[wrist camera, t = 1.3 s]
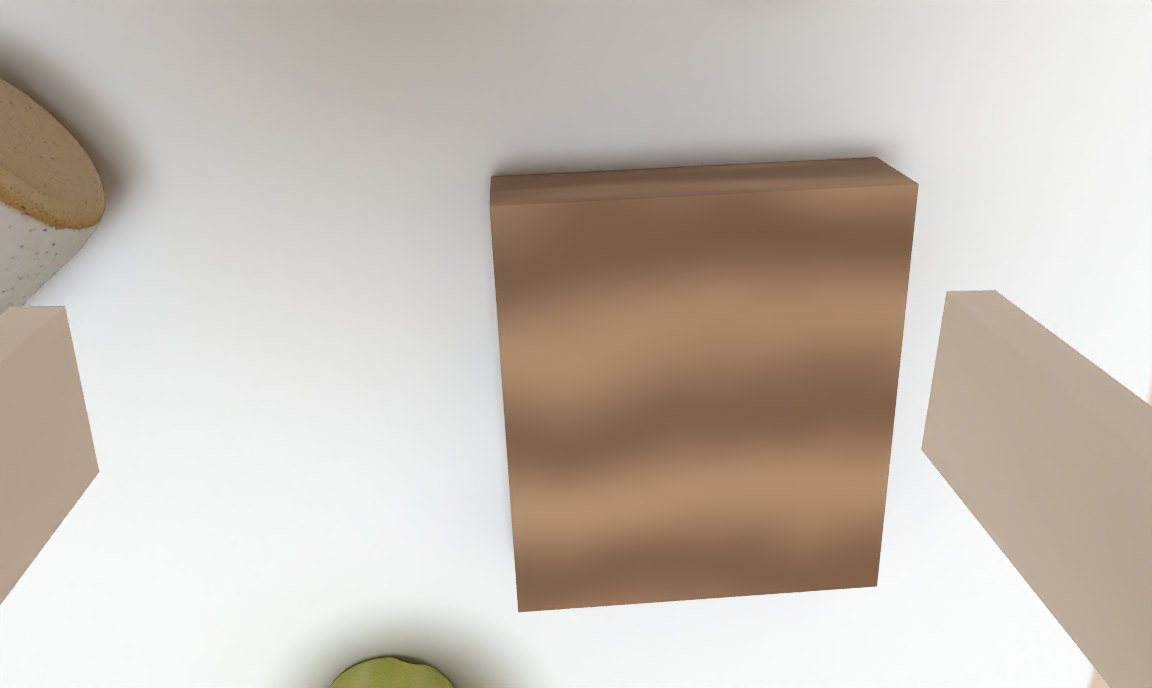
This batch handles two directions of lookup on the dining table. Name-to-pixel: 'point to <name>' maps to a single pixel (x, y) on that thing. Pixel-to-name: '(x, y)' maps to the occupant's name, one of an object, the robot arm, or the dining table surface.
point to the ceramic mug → (40, 196)
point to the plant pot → (391, 675)
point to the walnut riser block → (699, 376)
